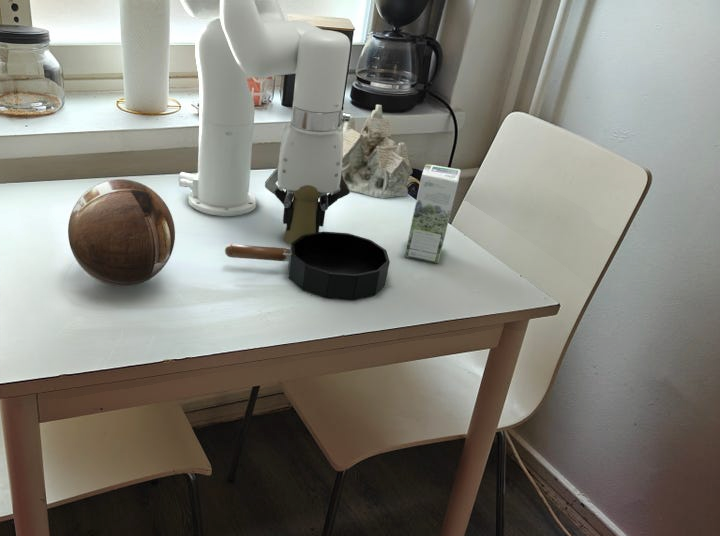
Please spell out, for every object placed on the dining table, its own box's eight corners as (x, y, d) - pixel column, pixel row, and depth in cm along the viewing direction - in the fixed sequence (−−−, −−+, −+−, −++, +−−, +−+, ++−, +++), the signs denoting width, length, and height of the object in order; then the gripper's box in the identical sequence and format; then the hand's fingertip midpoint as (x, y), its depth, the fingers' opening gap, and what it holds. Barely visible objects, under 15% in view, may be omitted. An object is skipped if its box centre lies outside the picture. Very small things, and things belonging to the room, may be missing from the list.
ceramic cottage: (313, 170, 150) (327, 98, 141) (384, 171, 154) (402, 102, 145) (338, 203, 139) (354, 127, 129) (414, 203, 143) (435, 130, 134)
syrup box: (441, 250, 122) (462, 167, 113) (438, 264, 117) (458, 179, 109) (408, 244, 123) (425, 161, 115) (403, 258, 118) (421, 173, 110)
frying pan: (221, 290, 105) (222, 265, 103) (226, 247, 117) (227, 224, 115) (390, 303, 105) (395, 278, 103) (377, 258, 117) (381, 235, 115)
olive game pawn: (316, 249, 119) (325, 186, 112) (280, 244, 119) (287, 181, 113) (320, 235, 124) (328, 173, 117) (286, 230, 124) (292, 169, 118)
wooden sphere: (54, 271, 106) (45, 174, 98) (141, 250, 114) (139, 158, 106) (102, 315, 97) (97, 212, 89) (193, 288, 105) (197, 191, 96)
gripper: (366, 115, 113) (349, 223, 123) (261, 108, 113) (253, 216, 123) (372, 129, 107) (353, 241, 117) (261, 121, 107) (252, 234, 117)
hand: (302, 227), depth 120 cm, fingers closed on olive game pawn, 4 cm apart
